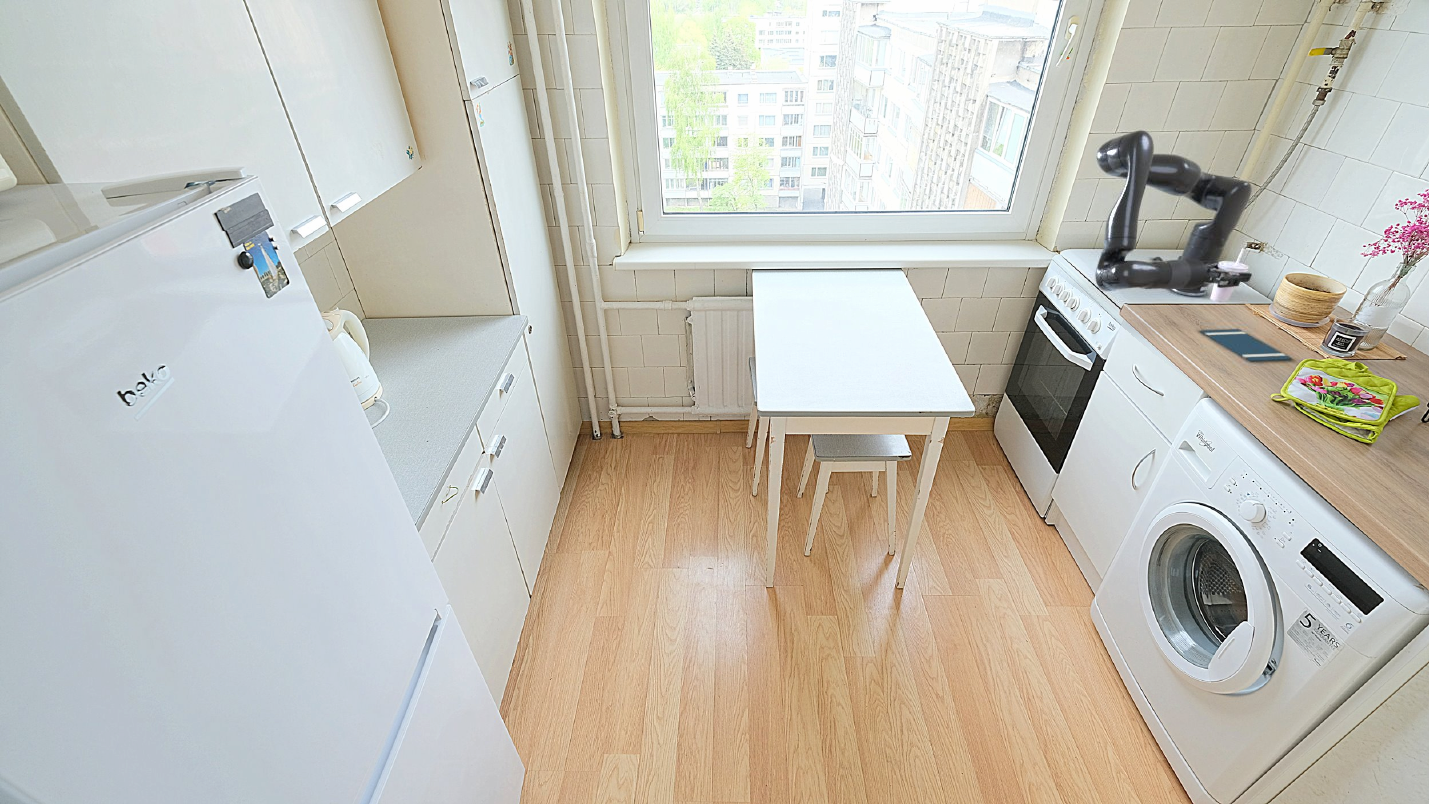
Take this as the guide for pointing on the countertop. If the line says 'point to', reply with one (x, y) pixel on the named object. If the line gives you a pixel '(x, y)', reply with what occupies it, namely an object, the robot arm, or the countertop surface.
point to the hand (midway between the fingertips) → (1239, 272)
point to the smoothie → (1230, 266)
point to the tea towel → (1245, 345)
